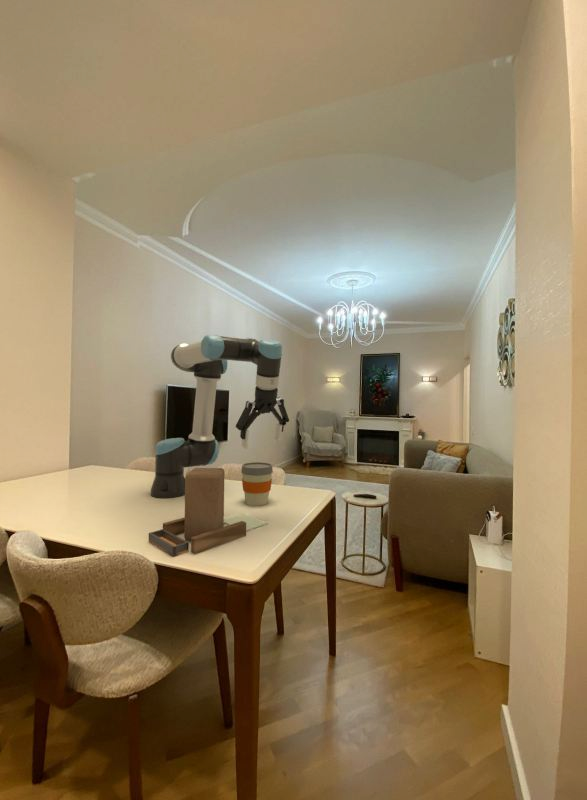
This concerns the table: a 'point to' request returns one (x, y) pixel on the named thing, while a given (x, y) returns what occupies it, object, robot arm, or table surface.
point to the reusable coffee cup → (256, 482)
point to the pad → (250, 521)
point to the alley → (208, 534)
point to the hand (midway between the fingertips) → (261, 443)
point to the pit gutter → (168, 542)
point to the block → (203, 501)
